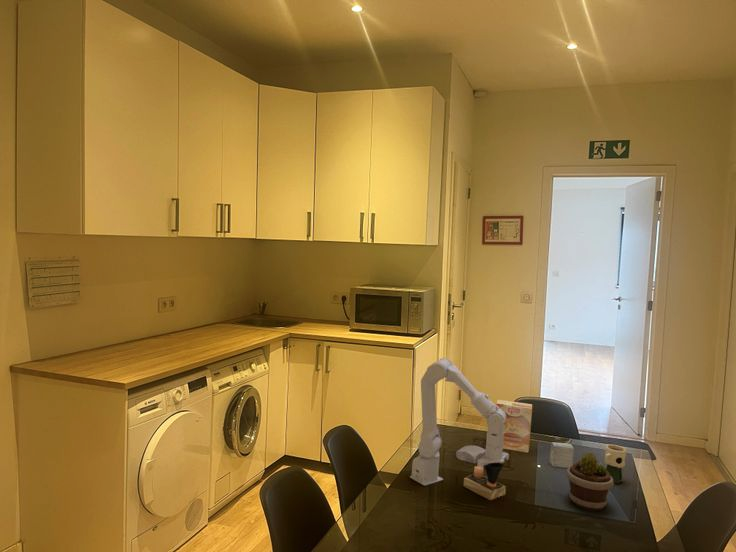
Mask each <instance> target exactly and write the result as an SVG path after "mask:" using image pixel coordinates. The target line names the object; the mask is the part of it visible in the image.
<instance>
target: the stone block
mask: <svg viewBox="0 0 736 552" xmlns="http://www.w3.org/2000/svg"><path fill="white" fill-rule="evenodd" d="M485 453H486V448H483V447H480V446H478V445H471V444H469V445H465V446H463V447H461V448H460V449H459V450H456V452H455V457H456V458H457V460H460V461H464V462H467V463H470V464H474V465H475V464H477V463H478V460H479V459H481V458H482V457H483V456H484V455H485Z"/></svg>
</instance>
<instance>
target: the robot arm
mask: <svg viewBox="0 0 736 552" xmlns="http://www.w3.org/2000/svg"><path fill="white" fill-rule="evenodd" d="M444 379H445V380H444ZM442 380H444V381H445V382H448V383H449V382H450V383H454V384H455V385H457V387H458V388H459V389H460V390H461V391H463V392H464V393H465V394H466V396H468V397H469V398H470V401H471V406H473V407H474V408H475V409H476V411H478V412H479V414H480V415H482V416H483V418H485V420H486V425H487V431H486V443H485V449H486V453H485V455H484V456H483V457H482V458H481V459H479V460H478V462H477V463H476V464H477V466H480V467H483V468H484V469H485V472H486V477H487V478H488V482H489V483H491V484H495V483H496V482H497V479H498V477H499V474H500V472H501V470H502V469H503V467H504V463H505V460H509V459H510V454H509V453H507V452H505V451H504V449H503V441H504V423H505V421H506V414H505V412H504V411H503V409H501V408H499V407H498V406H497V404H495V403H494V402H493V401H492V400H491V399H490V398H489V397H490V395H488V394H487V393H486V394H485V393H484V391H483V392H481V391H478V390H477V389H476V388H475V386H473V385H472V383H471V382H470V381H469V380H468V379H467V378H466V377H465V375H464V374H463V373H462V372H461V371H460V369H458V367H457V366H456V365H455V364H454V363H452V360H450V359H448V358H446V357H445V358H443V357H442V358H440V359H438V360H437V361H436V362H433V363H431V365H429V366H428V367H427V369H426V371H425V373H424V374H423V376H422V377H421V379H420V393H421V397H420V398H421V419H422V421H421V423H422V430H421V433H420V441H419V444H418V446H417V447H418V448H417V449H418V452H419V454H418V456H416V457H415V458H413V460H412V465H411V475H410V476H409V478H410V479H412V480H413V481H416V482H417V483H419V484H421V485H423V486H429V485H432V484H435V483H439V482H441V481H443V480H444V478H443V477H441V476H439V470H440V469H439V467H440V456H441V455H440V451H439V450H440V449H441V447H442V445H443V442H442V441H443V440H442V438H441V436H440V431H439V429H438V424H437V423H438V422H437V420H438V419H437V399H436V398H437V395H436V384H438V383H439V381H442Z"/></svg>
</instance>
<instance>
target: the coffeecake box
mask: <svg viewBox="0 0 736 552" xmlns="http://www.w3.org/2000/svg"><path fill="white" fill-rule="evenodd" d="M496 406H498V407H499V408H501V409H503V411H504V412H505V414H506V421H505V423H504V441H503V450H509V451H515V452H516V451H517V452H521V453H529V451H530V450H529V449H530V441H531V440H530V439H531V428H532V416H533V414H532V413H533V404H531V403H526V402H517V401H511V400H505V399H504V400H503V399H497V400H496Z"/></svg>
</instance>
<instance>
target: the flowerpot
mask: <svg viewBox="0 0 736 552" xmlns="http://www.w3.org/2000/svg"><path fill="white" fill-rule="evenodd" d="M582 456H583V457H582ZM582 456H580V458H579V459H578V462H576V463H574V464H573V465H572V466H571V467H569V468H566V469H567V470H566V471H565V472H566V477H567V479H568V480H569V488H570V489H569V491H568V493H569V497H570V498H569V499H571V502H572V503H573V504H574V505H575V506H577V507H579V508H582V509H585V510H587V511H595V512H596V511H601V510H603V509H604V507H605V506H606V505H607V504H608V498H607V496H608V493H609V490H610V489H611V488H613V486H614V485H615V483H613V478H612V477H611V476H610V474H609V472H608V471H607V470H606V464H604V465H602V462H600V463H599V460H598V459H597V456H596V454H595V451H594V452H592V451H591V450H590V451H589V452H588V451H586V453H584V454H583V455H582Z"/></svg>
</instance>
